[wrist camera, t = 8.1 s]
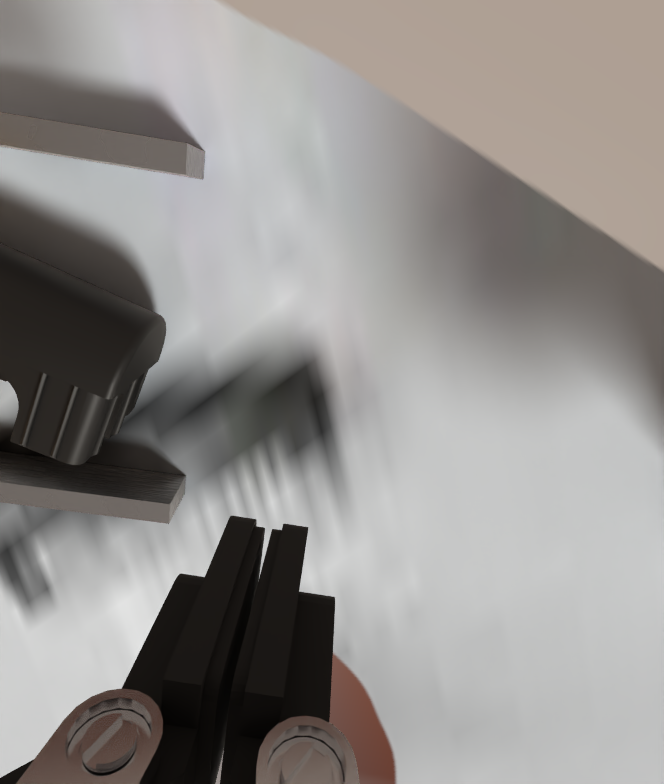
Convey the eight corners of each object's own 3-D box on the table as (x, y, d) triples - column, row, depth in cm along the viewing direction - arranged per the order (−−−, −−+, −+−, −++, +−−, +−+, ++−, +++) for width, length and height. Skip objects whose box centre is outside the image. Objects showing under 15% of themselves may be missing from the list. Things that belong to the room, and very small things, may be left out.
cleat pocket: (205, 151, 23) (187, 143, 20) (184, 493, 29) (169, 523, 26) (-61, 107, 22) (-118, 92, 20) (-25, 466, 29) (-64, 493, 26)
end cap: (183, 304, 26) (134, 334, 19) (140, 419, 28) (82, 480, 21) (-12, 215, 24) (-135, 215, 18) (-41, 343, 26) (-161, 385, 20)
